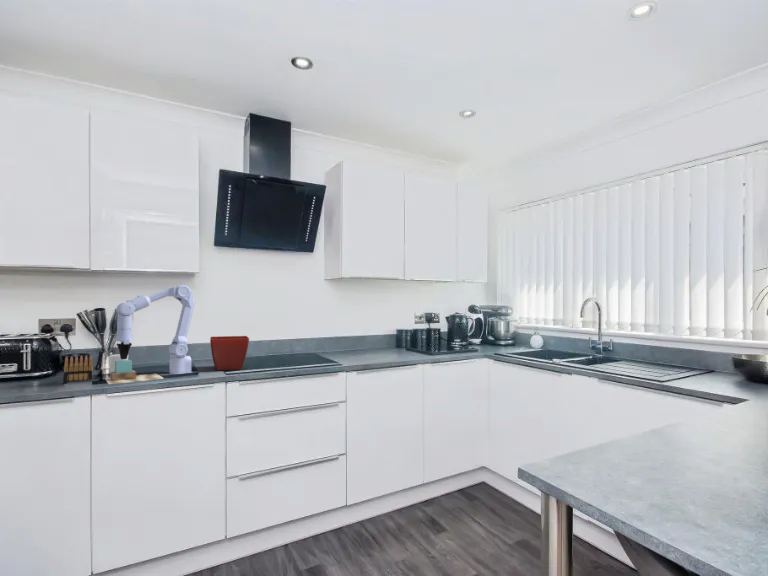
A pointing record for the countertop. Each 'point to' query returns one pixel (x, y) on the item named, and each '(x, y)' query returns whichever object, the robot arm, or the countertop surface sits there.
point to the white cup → (112, 361)
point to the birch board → (138, 378)
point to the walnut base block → (123, 376)
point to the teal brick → (123, 366)
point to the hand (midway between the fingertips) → (123, 359)
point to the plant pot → (229, 351)
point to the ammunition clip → (78, 369)
